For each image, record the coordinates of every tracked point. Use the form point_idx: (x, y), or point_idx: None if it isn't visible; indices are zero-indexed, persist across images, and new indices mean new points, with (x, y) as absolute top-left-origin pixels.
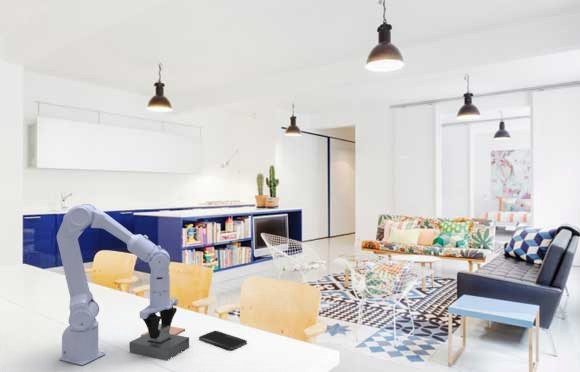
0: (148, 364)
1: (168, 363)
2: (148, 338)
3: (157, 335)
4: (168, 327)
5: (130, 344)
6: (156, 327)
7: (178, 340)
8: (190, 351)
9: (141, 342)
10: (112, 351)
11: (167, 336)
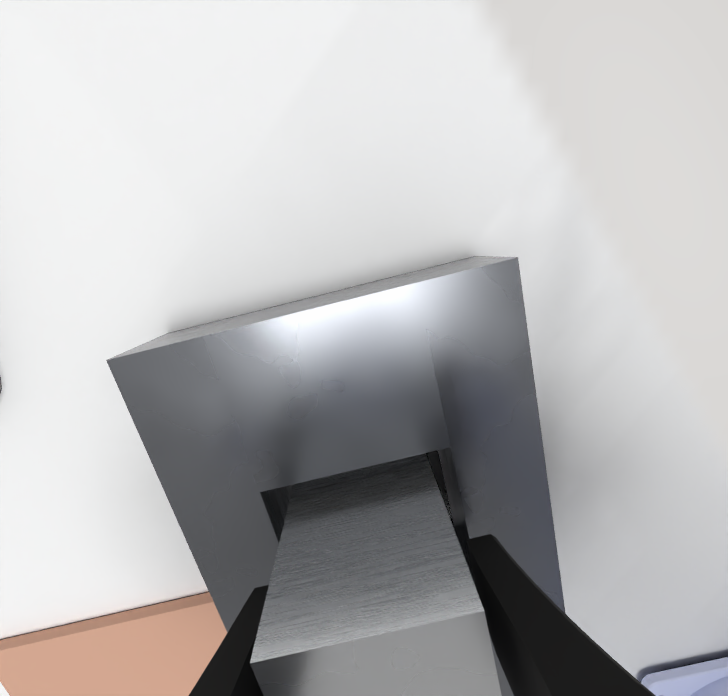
0: (608, 322)
1: (508, 195)
2: None
3: (482, 561)
4: (279, 631)
5: None
6: (618, 683)
7: (255, 383)
8: (213, 244)
9: None
10: None
11: (316, 523)
